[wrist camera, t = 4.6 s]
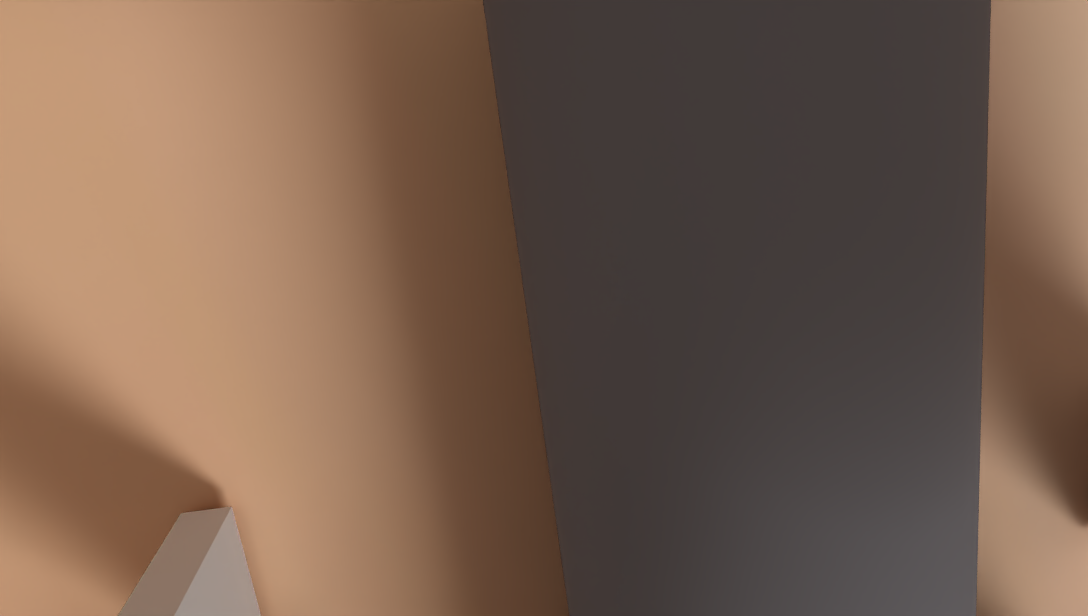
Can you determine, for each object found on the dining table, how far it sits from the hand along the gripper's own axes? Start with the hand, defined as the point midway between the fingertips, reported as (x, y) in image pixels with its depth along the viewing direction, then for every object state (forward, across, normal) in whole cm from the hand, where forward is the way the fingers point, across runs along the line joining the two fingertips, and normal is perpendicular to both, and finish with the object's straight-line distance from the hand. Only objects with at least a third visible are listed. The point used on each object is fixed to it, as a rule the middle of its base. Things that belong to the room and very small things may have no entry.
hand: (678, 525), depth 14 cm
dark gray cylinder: (0, 0, 0) cm, 0 cm away
